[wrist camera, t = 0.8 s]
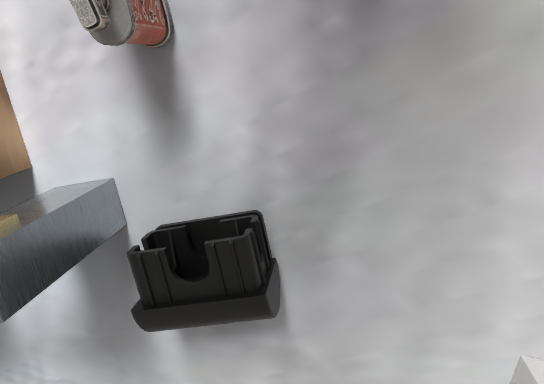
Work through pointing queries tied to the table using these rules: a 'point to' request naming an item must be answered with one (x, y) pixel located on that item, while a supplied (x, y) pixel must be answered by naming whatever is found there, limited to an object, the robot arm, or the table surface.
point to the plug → (10, 138)
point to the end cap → (205, 273)
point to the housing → (53, 237)
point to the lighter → (126, 21)
